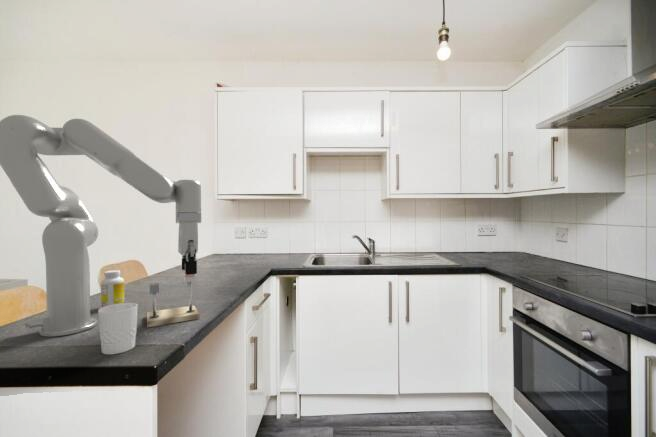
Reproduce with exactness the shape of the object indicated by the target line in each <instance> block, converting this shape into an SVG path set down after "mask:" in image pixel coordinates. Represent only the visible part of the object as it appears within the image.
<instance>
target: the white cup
mask: <svg viewBox="0 0 656 437" xmlns="http://www.w3.org/2000/svg"><path fill="white" fill-rule="evenodd" d="M138 307H139V304H138V303H135V302H124V303H119V304H113V305H108V306H105V307H102V306H101V307H100V308H99V309H97V313H98V329H99V340H100V346H101V347H100V348H101V353H102V354H104V355H116V354H117V355H118V354H122V353H125V352H128V351H130V350H133V349H134V348H135V347H136V338H137V330H138V329H137V328H138V310H139V308H138Z"/></svg>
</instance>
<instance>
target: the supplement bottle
mask: <svg viewBox="0 0 656 437" xmlns="http://www.w3.org/2000/svg"><path fill="white" fill-rule="evenodd" d="M103 273H104V274H103V275H104V278H103V279H102V280H101V282H100V291H101V292H100V293H101V295H100V297H101V299H100V300H101V302H100V303H101V308H102V307H105V306H108V305H113V304H119V303H125V279H124V278H123V277H121V270H120V269H118V270H107V271H104V272H103Z"/></svg>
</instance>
